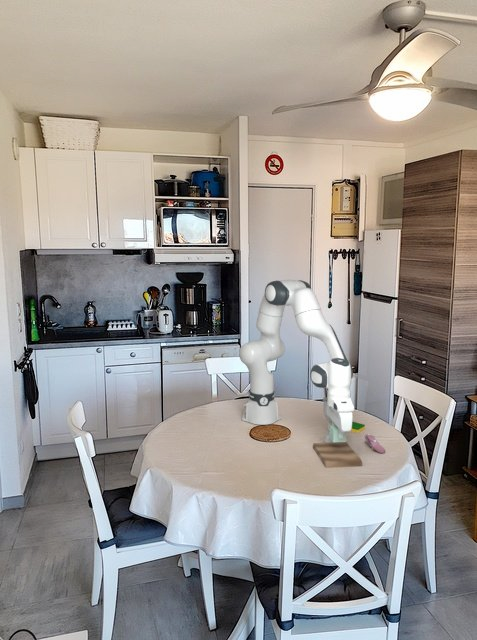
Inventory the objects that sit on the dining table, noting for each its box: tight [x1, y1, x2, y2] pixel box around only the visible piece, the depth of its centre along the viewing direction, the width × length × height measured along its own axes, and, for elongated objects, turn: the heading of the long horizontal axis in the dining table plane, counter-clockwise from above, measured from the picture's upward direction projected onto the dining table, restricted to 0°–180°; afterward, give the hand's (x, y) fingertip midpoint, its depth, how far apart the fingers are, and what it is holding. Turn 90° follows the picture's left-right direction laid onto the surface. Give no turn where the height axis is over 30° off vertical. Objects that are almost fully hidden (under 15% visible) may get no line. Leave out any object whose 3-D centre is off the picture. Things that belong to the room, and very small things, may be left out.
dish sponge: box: [331, 420, 366, 434], centre depth 221 cm, size 7×14×2 cm, turn 49°
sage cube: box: [329, 425, 347, 443], centre depth 188 cm, size 5×5×5 cm
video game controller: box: [364, 433, 386, 454], centre depth 197 cm, size 10×5×7 cm, turn 6°
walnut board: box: [312, 441, 363, 469], centre depth 190 cm, size 18×14×2 cm
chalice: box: [322, 396, 333, 443], centre depth 204 cm, size 7×7×18 cm
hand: (337, 434), depth 188 cm, fingers closed on sage cube, 5 cm apart
